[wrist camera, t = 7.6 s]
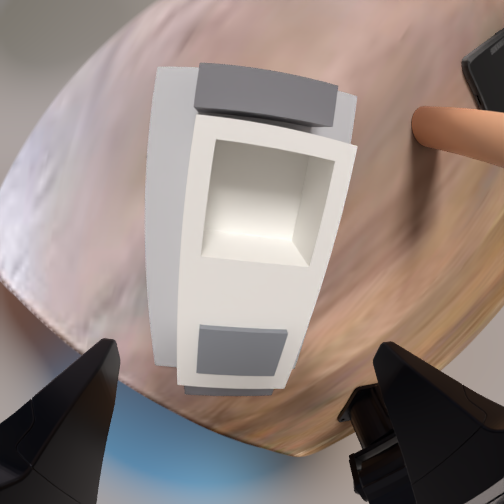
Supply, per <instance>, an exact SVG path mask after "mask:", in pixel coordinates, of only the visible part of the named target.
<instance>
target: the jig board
mask: <svg viewBox="0 0 504 504" xmlns="http://www.w3.org/2000/svg"><path fill="white" fill-rule="evenodd" d="M356 102H357V96H354V95H351V94H348V93H344V92H341V91H338V86H337V85H333V84H330V83H326V82H322V81H318V80H314V79H310V78H306V77H301V76H297V75H292V74H287V73H282V72H276V71H271V70H265V69H258V68H251V67H244V66H235V65H225V64H214V63H200V65H199V68H196V67H157V73H156V79H155V86H154V93H153V100H152V108H151V117H150V127H149V137H148V150H147V165H146V186H145V257H146V279H147V295H148V307H149V318H150V328H151V337H152V346H153V353H154V361H155V365H158V366H169V367H177V310H178V283H179V265H180V249H181V236H182V224H183V213H184V202H185V193H186V184H187V175H188V167H189V160H190V152H191V145H192V138H193V132H194V125H195V119H196V114H198V115H208V116H216V117H224V118H231V119H238V120H245V121H251V122H257V123H263V124H268V125H273V126H278V127H283V128H288V129H293V130H297V131H302V132H306V133H310V134H315V135H319V136H323V137H326V138H330V139H334V140H338V141H341V142H345V143H348V144H351V138H352V131H353V124H354V117H355V110H356ZM308 325H309V324H308ZM307 328H308V327H307ZM306 331H307V330H306ZM305 335H306V333H305ZM304 338H305V336H304ZM304 338H303V341H304ZM303 341H302V344H303ZM302 344H301V347H302ZM301 347H300V349H299V352H298V355H297V357H296V360H295V363H294V365H293V368H292V369H295V366H296V363H297V360H298V357H299V353H300V350H301ZM184 389H185V394H190V395H210V396H265V395H272V393H273V389H233V388H211V387H197V386H185V385H184Z"/></svg>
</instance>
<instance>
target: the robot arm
mask: <svg viewBox="0 0 504 504" xmlns="http://www.w3.org/2000/svg"><path fill="white" fill-rule="evenodd" d="M373 365H374V369H375V373H376V376H377V380H378V384H373V385H367V386H361V387H358V388H357V389H356V390H355V391H354V393H353V395H352V396H351V398H350V400H349V401H348V403H347V405H346V406H345V408H344V409H343V411H342V413H341V414H340V416H339V417H338V421H339V422H344V421H349V420H350V421H351V423H352V425H353V428H354V430H355V432H356V435H357V437H358V440H359V442H360V444H361V447H362V450H360V451H358V452H357V453H353V454H351V455H349V458H350V460H349V463H350V467H351V472H352V476H353V480H354V491H355V493H357V494H359V495H360V496H361V497H362V499H363V500H364V501H366V502H367V501H369V504H504V407H503V406H501V405H499V404H497V403H495V402H493V401H491V400H489V399H487V398H485V397H483V396H482V395H480V394H477V393H476V392H474V391H473V390H471V389H469V388H468V387H466V386H464V385H462V384H461V383H459V382H458V381H456V380H454V379H453V378H451V377H449V376H448V375H446V374H444V373H443V372H441V371H440V370H438V369H436V368H435V367H433V366H431V365H430V364H428V363H426V362H425V361H423V360H422V359H420V358H418V357H417V356H415V355H413V354H412V353H410V352H409V351H407V350H405V349H404V348H402V347H400V346H399V345H397V344H395V343H394V342H391V341H390V342H383V343H382V344H381V345H380V347H379V349H378V351H377V353H376V355H375V356H374V359H373ZM119 369H120V356H119V352H118V348H117V343H116V341H115V340H113V339H107V338H103V339H101V340H100V341H99V342H97V343H96V344H95V345H94V346H93V347H91V348H90V349H89V350H88V351H87V352H85V353H84V354H83V355H82V356H81V357H79V358H78V359H77V360H76V361H75V362H74V363H72V364H71V365H70V366H69V367H68V368H67V369H65V370H64V371H63V372H62V373H61V374H59V375H58V376H57V377H56V378H55V379H53V380H52V381H51V382H50V383H49V384H48V385H46V387H44V388H43V389H42V390H41V391H39V392H38V393H37V394H36V395H35V396H34V397H33V398H32V400H31V399H30V400H29V401H28V402H27V403H26V404H24V405H23V406H22V407H21V408H20V409H19V410H17V411H16V412H15V413H14V414H13V415H11V416H10V417H9V418H7V419H6V420H4V421H3V422H2V423H0V504H96V502H97V494H98V487H99V480H100V474H101V467H102V461H103V457H104V451H105V446H106V441H107V436H108V432H109V427H110V422H111V418H112V414H113V410H114V405H115V398H116V390H117V381H118V375H119Z"/></svg>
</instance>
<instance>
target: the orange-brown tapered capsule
mask: <svg viewBox="0 0 504 504" xmlns="http://www.w3.org/2000/svg"><path fill="white" fill-rule="evenodd" d="M412 131H413V134H414V136H415V138H416V140H417V141H418V142H419V143H420V144H421V145H422V146H425V147H429V148H434V149H438V150H442V151H447V152H451V153H455V154H459V155H463V156H466V157H470V158H473V159H477V160H480V161H484V162H487V163H490V164H493V165H496V166H499V167H502V168H504V113H501V112H494V111H486V110H477V109H466V108H453V107H430V106H422V107H419V108H418V109H417V110H416V111H415V112H414V114H413V117H412Z"/></svg>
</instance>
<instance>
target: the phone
mask: <svg viewBox="0 0 504 504" xmlns="http://www.w3.org/2000/svg"><path fill="white" fill-rule="evenodd" d="M461 64H462V70H463V72H464V75H465V77H466V79H467V81H468V83H469V85H470V87H471V90H472V92H473V94H474V96H475V99H476V101H477V104H478V106H479V108H480V110H486V111H494V112H501V113H504V28H503V29H502V30H500V31H498V32H497V33H495V35H494V36H492V37H491V38H489V39H488V40H487V41H485V42H484V43H483V44H481V45H480V46H478V47H477V48H476V49H474V50H473V51H472V52H470V53H469V54H468V55H466V56H465V57H464V58H463V59H462V62H461ZM469 80H470V81H469ZM476 95H478V97H479V100H480V102H481V105H480V103H479V101H478V99H477V96H476Z"/></svg>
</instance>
